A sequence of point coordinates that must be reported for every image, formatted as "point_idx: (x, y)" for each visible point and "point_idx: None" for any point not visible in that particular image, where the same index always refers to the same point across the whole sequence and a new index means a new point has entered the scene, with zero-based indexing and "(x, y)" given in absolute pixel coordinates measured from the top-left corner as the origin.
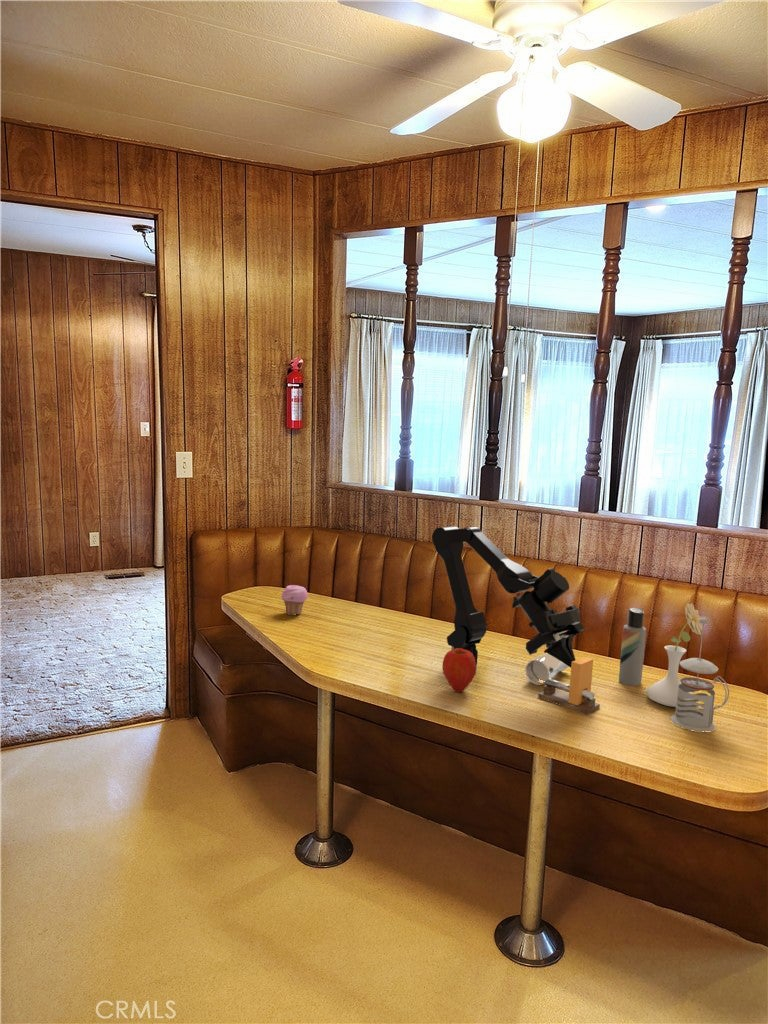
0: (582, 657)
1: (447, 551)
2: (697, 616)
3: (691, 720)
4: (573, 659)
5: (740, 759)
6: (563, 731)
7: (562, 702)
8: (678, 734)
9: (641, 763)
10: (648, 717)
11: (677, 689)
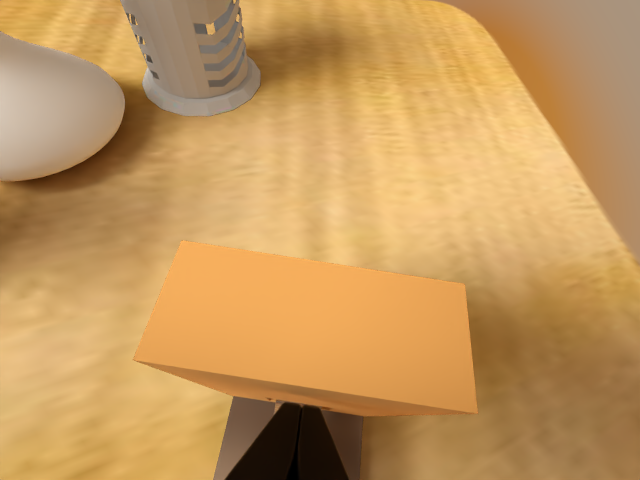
0: (189, 364)
1: None
2: None
3: (246, 54)
4: (290, 467)
5: (342, 15)
6: (580, 330)
7: (360, 455)
8: (305, 91)
9: (533, 122)
10: (235, 156)
11: (56, 56)
